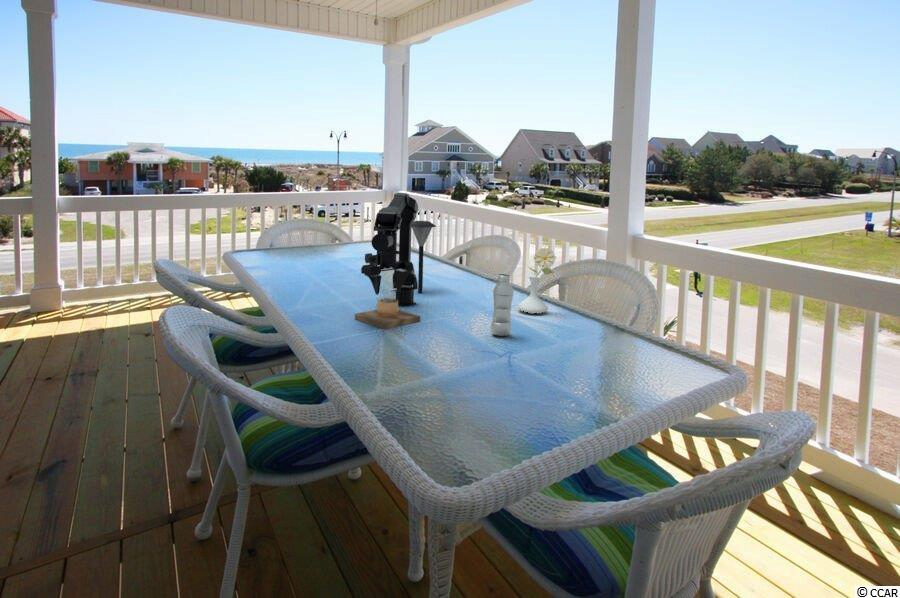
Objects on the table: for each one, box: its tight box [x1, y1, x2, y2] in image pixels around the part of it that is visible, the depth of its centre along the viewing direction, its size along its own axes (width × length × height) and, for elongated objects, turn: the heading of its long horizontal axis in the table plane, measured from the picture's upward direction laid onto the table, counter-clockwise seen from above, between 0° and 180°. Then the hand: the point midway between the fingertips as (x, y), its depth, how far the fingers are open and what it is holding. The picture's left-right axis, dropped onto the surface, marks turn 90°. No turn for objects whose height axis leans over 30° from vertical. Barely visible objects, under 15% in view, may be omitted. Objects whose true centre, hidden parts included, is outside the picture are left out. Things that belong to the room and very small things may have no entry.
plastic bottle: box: [490, 273, 515, 337], centre depth 194 cm, size 6×7×20 cm
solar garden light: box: [412, 220, 437, 294], centre depth 251 cm, size 12×12×30 cm
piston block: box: [354, 297, 421, 330], centre depth 209 cm, size 16×16×8 cm
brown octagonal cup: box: [376, 298, 399, 317], centre depth 209 cm, size 7×7×5 cm
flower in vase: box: [517, 246, 557, 314], centre depth 225 cm, size 13×11×25 cm
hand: (387, 292), depth 207 cm, fingers open, 9 cm apart
